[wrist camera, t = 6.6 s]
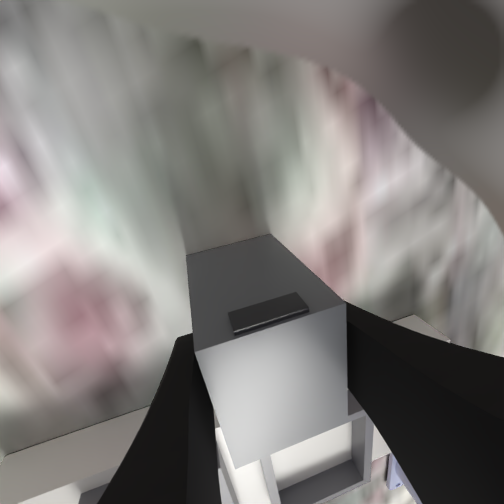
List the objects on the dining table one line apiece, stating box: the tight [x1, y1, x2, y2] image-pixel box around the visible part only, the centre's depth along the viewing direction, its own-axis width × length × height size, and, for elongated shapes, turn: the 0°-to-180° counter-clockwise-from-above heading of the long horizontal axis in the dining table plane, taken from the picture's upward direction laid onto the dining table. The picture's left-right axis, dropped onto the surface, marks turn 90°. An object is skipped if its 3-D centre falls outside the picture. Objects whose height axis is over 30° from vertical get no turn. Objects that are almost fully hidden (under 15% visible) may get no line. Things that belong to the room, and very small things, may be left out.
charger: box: [186, 234, 348, 469], centre depth 10 cm, size 4×5×6 cm
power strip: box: [0, 314, 451, 504], centre depth 15 cm, size 24×9×4 cm, turn 99°
